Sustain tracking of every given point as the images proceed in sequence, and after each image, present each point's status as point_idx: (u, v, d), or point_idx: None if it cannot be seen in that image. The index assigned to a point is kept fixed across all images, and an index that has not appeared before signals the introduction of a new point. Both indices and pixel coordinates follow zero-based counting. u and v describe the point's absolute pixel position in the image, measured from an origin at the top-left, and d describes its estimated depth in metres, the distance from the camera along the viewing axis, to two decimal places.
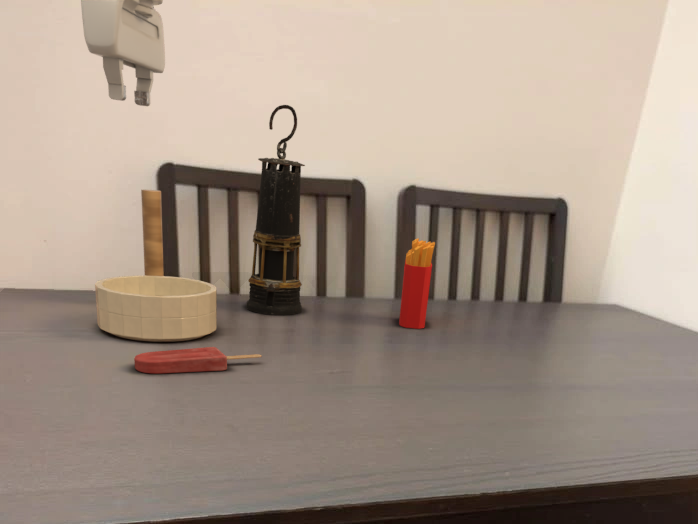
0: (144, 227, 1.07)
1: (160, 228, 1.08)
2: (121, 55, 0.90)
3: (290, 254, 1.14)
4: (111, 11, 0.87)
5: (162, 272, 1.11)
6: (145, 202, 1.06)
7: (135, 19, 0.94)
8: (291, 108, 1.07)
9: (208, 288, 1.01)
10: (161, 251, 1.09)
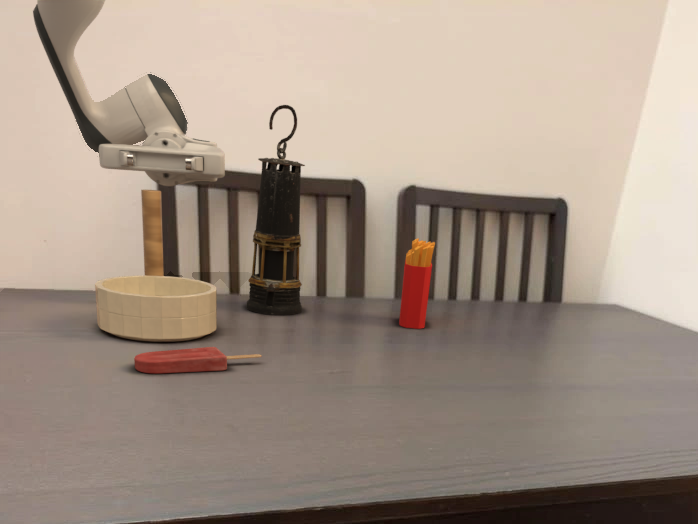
0: (144, 227, 1.07)
1: (160, 228, 1.08)
2: (208, 175, 1.21)
3: (290, 254, 1.14)
4: None
5: (162, 272, 1.11)
6: (145, 202, 1.06)
7: None
8: (291, 108, 1.07)
9: (208, 288, 1.01)
10: (161, 251, 1.09)
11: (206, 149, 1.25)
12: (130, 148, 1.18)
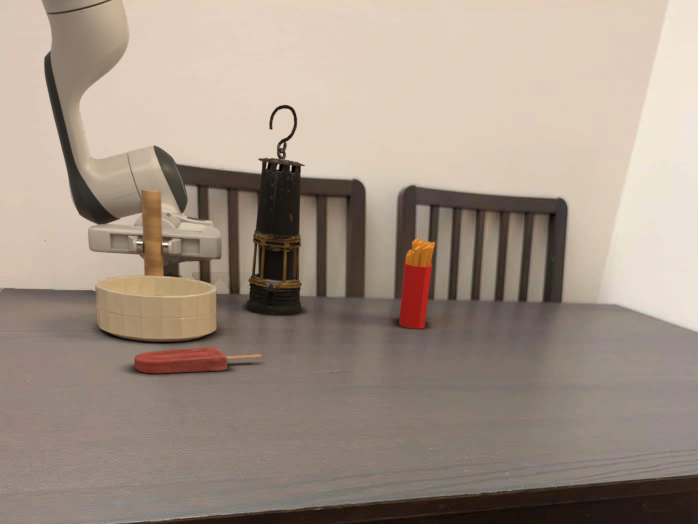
0: (144, 227, 1.07)
1: (160, 228, 1.08)
2: (204, 258, 1.15)
3: (290, 254, 1.14)
4: None
5: (162, 272, 1.11)
6: (145, 202, 1.06)
7: None
8: (291, 108, 1.07)
9: (208, 288, 1.01)
10: (161, 251, 1.09)
11: (202, 228, 1.18)
12: (121, 231, 1.11)
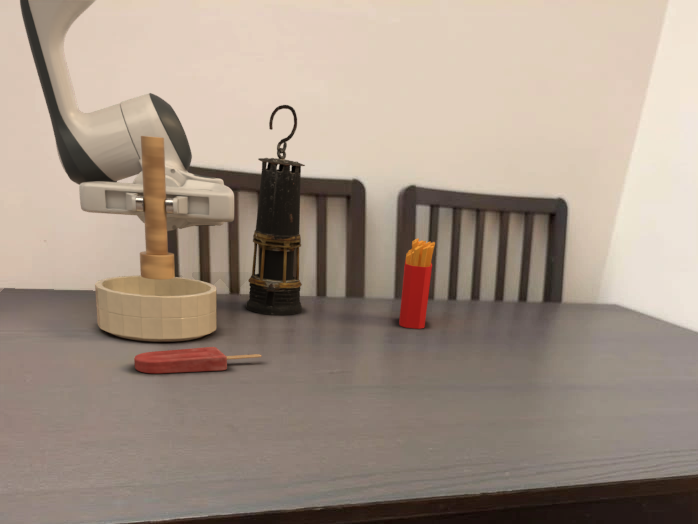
0: (144, 181, 0.92)
1: (163, 182, 0.92)
2: (214, 219, 0.99)
3: (290, 254, 1.14)
4: None
5: (166, 234, 0.95)
6: (145, 150, 0.90)
7: None
8: (291, 108, 1.07)
9: (208, 288, 1.01)
10: (164, 209, 0.93)
11: (211, 187, 1.03)
12: (118, 188, 0.96)
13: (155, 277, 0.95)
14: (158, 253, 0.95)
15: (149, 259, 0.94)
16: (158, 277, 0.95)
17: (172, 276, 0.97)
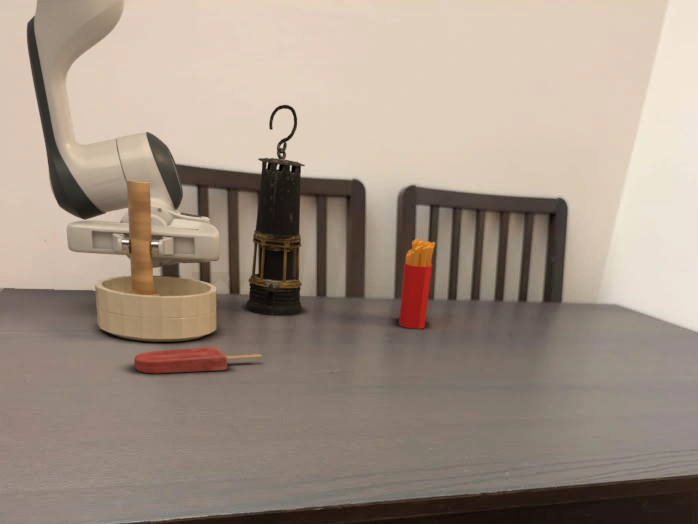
0: (130, 224, 0.93)
1: (149, 225, 0.94)
2: (199, 259, 1.01)
3: (290, 254, 1.14)
4: None
5: (151, 275, 0.97)
6: (131, 195, 0.92)
7: None
8: (291, 108, 1.07)
9: (208, 288, 1.01)
10: (149, 251, 0.95)
11: (197, 226, 1.05)
12: (105, 229, 0.97)
13: None
14: (144, 293, 0.97)
15: None
16: None
17: None
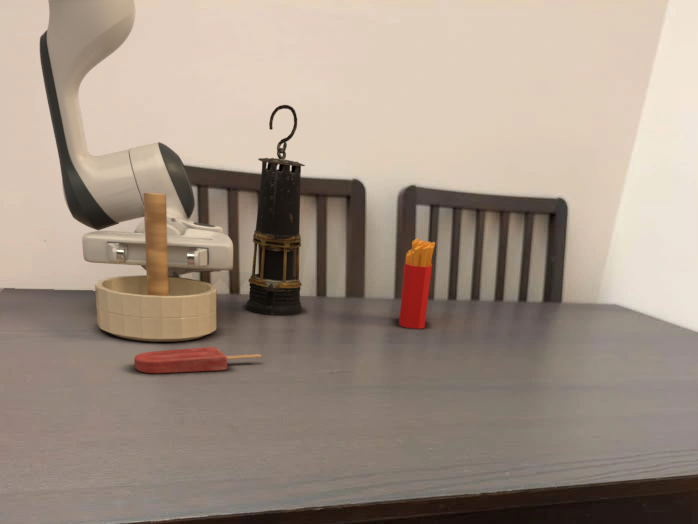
0: (147, 235, 0.94)
1: (165, 236, 0.95)
2: (213, 269, 1.02)
3: (290, 254, 1.14)
4: None
5: (167, 286, 0.98)
6: (148, 207, 0.93)
7: None
8: (291, 108, 1.07)
9: (208, 288, 1.01)
10: (165, 262, 0.96)
11: (211, 236, 1.05)
12: (120, 239, 0.98)
13: None
14: None
15: None
16: None
17: None
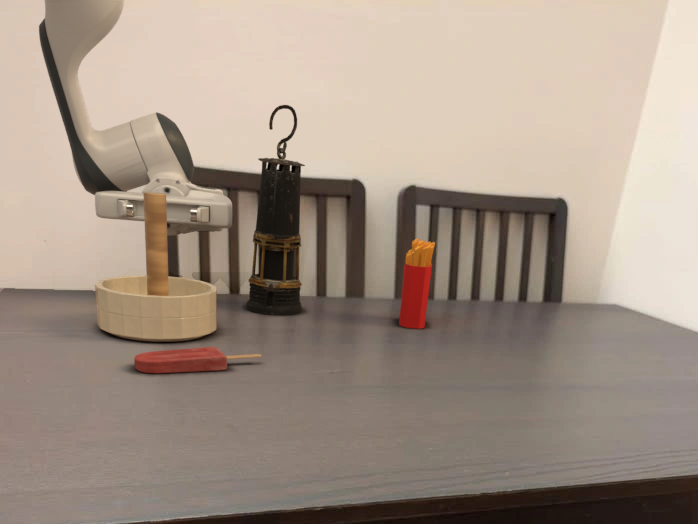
0: (147, 235, 0.94)
1: (165, 236, 0.95)
2: (214, 226, 1.12)
3: (290, 254, 1.14)
4: None
5: (167, 286, 0.98)
6: (148, 207, 0.93)
7: None
8: (291, 108, 1.07)
9: (208, 288, 1.01)
10: (165, 262, 0.96)
11: (212, 197, 1.15)
12: (129, 197, 1.08)
13: None
14: None
15: None
16: None
17: None
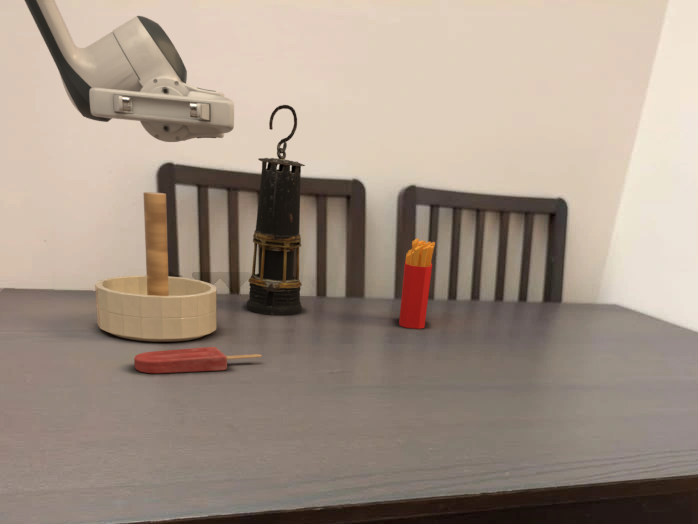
0: (147, 235, 0.94)
1: (165, 236, 0.95)
2: (215, 126, 1.06)
3: (290, 254, 1.14)
4: None
5: (167, 286, 0.98)
6: (148, 207, 0.93)
7: None
8: (291, 108, 1.07)
9: (208, 288, 1.01)
10: (165, 262, 0.96)
11: (212, 98, 1.10)
12: (126, 92, 1.02)
13: None
14: None
15: None
16: None
17: None
